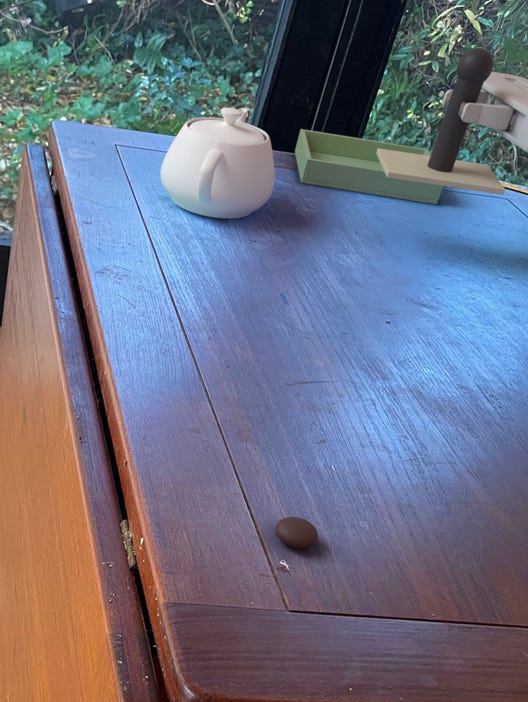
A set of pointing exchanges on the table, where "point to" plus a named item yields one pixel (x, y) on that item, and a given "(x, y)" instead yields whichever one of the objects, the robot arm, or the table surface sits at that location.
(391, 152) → the joystick
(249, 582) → the table surface
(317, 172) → the tray
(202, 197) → the teapot
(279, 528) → the chocolate truffle
